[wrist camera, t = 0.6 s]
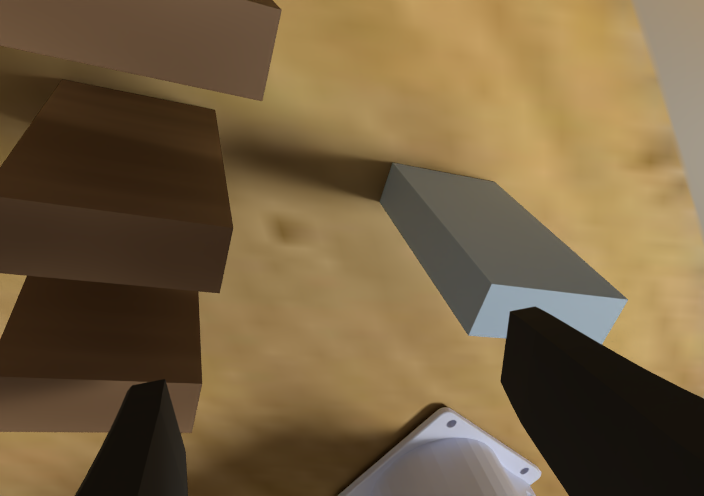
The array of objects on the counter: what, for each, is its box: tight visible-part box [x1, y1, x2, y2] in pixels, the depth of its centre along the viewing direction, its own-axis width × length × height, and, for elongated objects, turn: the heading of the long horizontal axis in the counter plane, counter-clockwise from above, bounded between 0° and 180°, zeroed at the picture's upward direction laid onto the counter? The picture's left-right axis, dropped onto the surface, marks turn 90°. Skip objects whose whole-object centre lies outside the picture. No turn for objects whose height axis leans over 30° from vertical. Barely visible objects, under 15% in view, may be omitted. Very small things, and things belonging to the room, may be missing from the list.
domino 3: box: [0, 276, 202, 433], centre depth 16 cm, size 2×4×8 cm, turn 74°
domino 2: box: [0, 79, 233, 293], centre depth 14 cm, size 2×4×8 cm, turn 74°
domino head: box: [380, 163, 628, 344], centre depth 18 cm, size 2×4×8 cm, turn 73°
